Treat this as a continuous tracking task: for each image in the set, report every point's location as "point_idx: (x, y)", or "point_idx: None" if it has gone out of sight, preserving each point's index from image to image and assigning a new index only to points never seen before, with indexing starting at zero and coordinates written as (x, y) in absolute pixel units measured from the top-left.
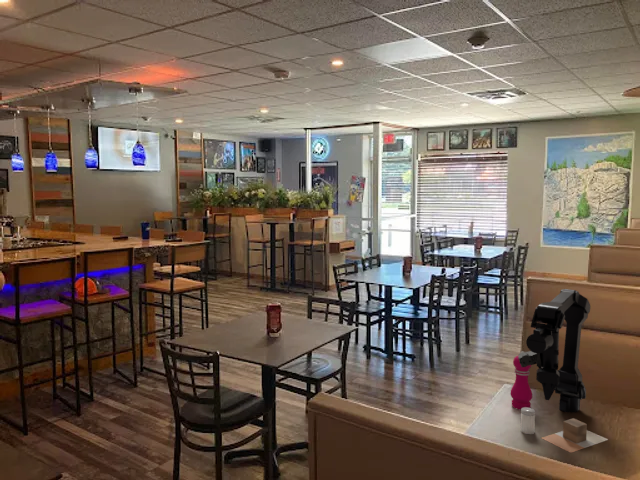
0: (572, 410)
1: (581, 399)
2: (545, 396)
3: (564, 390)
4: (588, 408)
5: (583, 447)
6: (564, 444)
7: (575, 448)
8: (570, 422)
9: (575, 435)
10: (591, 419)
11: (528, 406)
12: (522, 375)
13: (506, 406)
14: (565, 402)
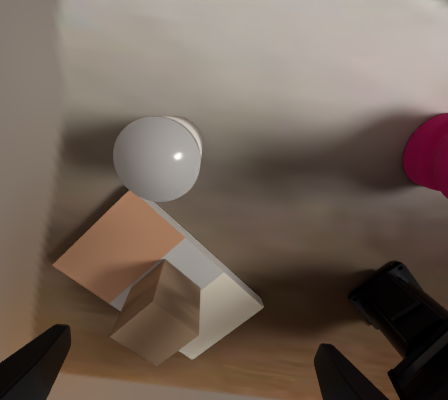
0: (371, 311)
1: (390, 373)
2: (19, 356)
3: (438, 358)
4: None
5: (110, 301)
6: (107, 256)
7: (91, 281)
8: (149, 322)
9: (125, 305)
10: (338, 336)
11: (417, 178)
12: None
13: (443, 88)
14: (393, 315)
